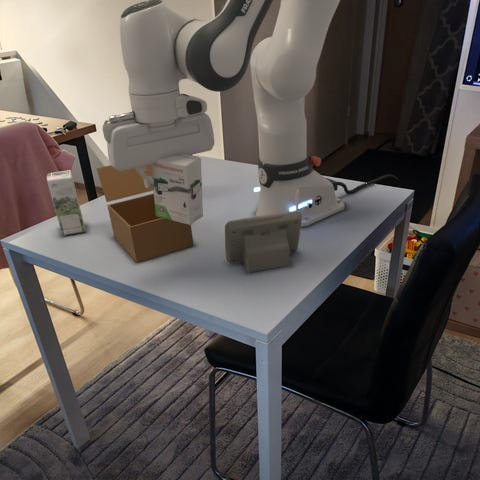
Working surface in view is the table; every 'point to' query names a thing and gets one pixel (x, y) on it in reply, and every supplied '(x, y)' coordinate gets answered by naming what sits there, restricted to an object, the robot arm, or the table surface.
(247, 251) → the digital clock
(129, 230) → the carton
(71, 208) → the syrup box
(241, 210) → the table surface
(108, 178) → the flap
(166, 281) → the table surface
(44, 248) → the table surface
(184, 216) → the ink box
